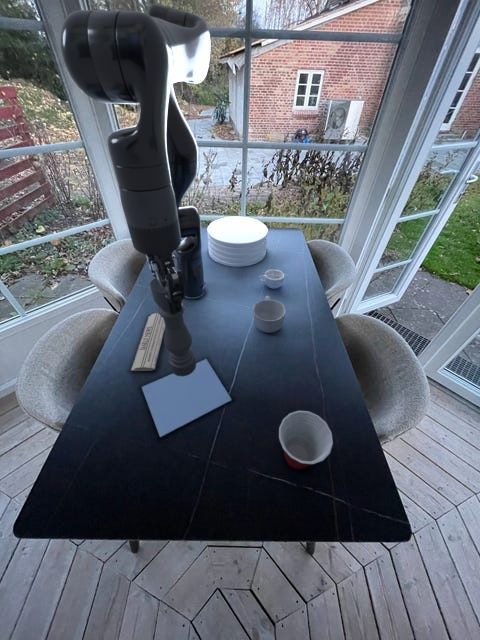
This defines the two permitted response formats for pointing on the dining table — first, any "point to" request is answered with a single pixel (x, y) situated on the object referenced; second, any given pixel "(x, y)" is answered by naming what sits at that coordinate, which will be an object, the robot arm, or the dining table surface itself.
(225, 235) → the plate stack
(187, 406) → the cloth
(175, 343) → the candle holder
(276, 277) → the teacup
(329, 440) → the plastic cup
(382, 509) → the dining table surface
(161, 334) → the newspaper
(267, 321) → the teacup
